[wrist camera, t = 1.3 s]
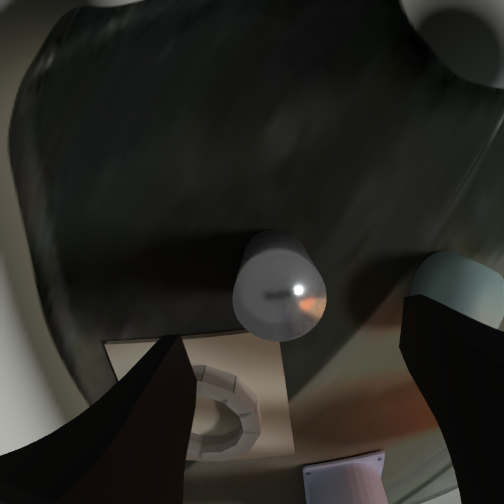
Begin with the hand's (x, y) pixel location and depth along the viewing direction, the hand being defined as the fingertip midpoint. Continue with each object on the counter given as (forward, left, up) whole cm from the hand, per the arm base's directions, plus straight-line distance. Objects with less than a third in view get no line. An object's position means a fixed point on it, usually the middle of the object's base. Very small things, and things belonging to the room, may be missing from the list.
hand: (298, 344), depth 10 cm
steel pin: (0, 0, -11) cm, 11 cm away
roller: (-4, -12, -11) cm, 16 cm away
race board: (-11, +7, -11) cm, 17 cm away
